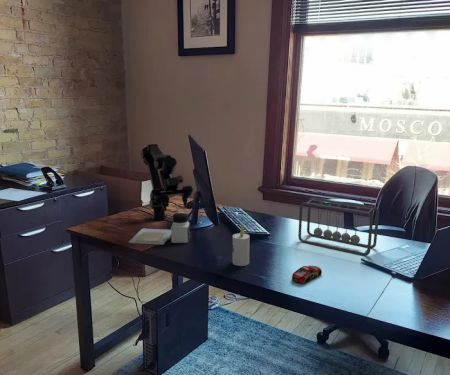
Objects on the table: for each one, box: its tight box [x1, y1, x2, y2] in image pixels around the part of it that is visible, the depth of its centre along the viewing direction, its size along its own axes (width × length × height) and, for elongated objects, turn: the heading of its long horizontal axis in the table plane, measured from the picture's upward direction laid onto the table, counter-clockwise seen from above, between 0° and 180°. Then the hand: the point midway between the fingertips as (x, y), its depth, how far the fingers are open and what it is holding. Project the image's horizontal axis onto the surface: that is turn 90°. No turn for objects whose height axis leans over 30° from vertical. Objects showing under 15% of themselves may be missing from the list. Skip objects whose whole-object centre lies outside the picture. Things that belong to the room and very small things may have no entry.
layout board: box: [128, 227, 171, 246], centre depth 177 cm, size 17×15×1 cm
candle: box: [231, 224, 251, 267], centre depth 149 cm, size 6×6×15 cm
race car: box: [291, 265, 323, 284], centre depth 139 cm, size 13×5×4 cm, turn 132°
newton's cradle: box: [298, 197, 380, 257], centre depth 166 cm, size 30×10×18 cm, turn 56°
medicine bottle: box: [170, 211, 191, 244], centre depth 172 cm, size 7×7×12 cm
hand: (176, 209), depth 175 cm, fingers open, 9 cm apart
